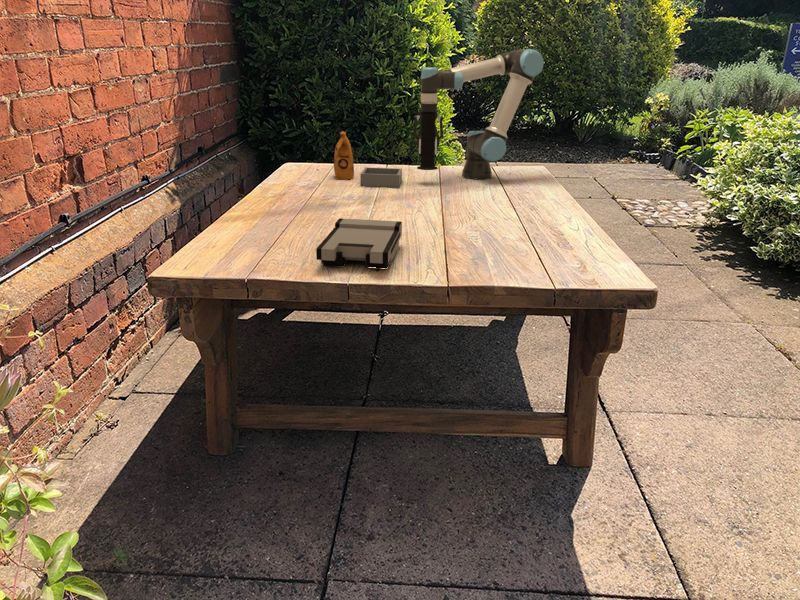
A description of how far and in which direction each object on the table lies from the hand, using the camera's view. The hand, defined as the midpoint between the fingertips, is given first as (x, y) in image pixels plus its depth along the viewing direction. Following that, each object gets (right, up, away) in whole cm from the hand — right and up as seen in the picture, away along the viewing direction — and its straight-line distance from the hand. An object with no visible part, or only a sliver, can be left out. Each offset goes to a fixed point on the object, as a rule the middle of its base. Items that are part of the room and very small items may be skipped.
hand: (427, 153), depth 319 cm
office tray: (-25, -56, -110) cm, 126 cm away
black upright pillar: (0, -7, +3) cm, 7 cm away
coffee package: (-41, -9, +15) cm, 45 cm away
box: (-22, -14, +3) cm, 26 cm away
